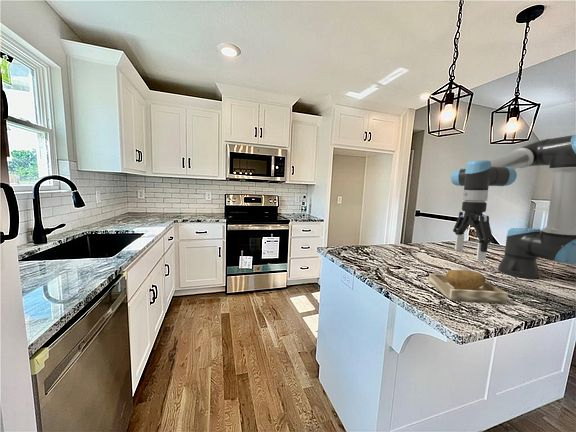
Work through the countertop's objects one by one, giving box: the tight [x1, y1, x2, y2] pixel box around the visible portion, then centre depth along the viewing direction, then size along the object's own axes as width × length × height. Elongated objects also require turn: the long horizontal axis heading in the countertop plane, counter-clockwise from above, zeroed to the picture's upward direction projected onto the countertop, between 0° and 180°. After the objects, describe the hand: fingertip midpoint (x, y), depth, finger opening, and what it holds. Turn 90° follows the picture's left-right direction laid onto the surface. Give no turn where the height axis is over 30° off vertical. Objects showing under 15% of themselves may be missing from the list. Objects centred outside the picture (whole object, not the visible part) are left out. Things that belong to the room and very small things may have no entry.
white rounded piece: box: [450, 266, 472, 271], centre depth 114 cm, size 8×8×4 cm
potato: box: [446, 269, 487, 290], centre depth 98 cm, size 10×14×8 cm
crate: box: [428, 273, 509, 305], centre depth 99 cm, size 19×17×4 cm
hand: (469, 254), depth 97 cm, fingers open, 13 cm apart
